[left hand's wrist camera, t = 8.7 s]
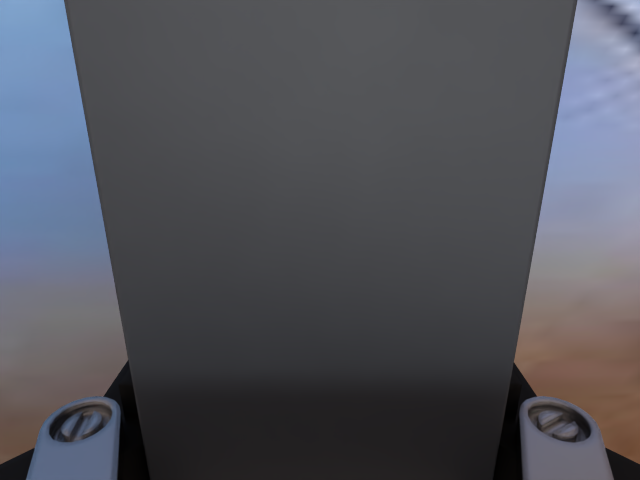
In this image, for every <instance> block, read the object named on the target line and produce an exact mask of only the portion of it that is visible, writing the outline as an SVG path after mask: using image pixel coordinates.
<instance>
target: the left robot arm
mask: <svg viewBox="0 0 640 480" xmlns="http://www.w3.org/2000/svg"><path fill="white" fill-rule="evenodd" d="M0 480H150V477H149V472H148V466H147V461H146V455H145V449H144V444H143V438H142V433H141V427H140V421H139V416H138V410H137V405H136V399H135V393H134V388H133V382H132V377H131V371H130V366H129V360H128V361H127V363H126V364H125V366H124V367H123V369H122V370H121V372H120V373H119V374H118V376H117V377H116V379H115V380H114V382H113V383H112V385H111V386H110V388H109V389H108V391H107V392H106V394H105V395H104V397H98V396H96V397H88V398H83V399H80V400H76V401H73V402H71V403H69V404H67V405H65V406H63V407H61V408H60V409H58V410H57V411H55V412H54V413H53V414H51V415H50V416H49V417H48V419H47V420H46V421H45V422H44V423H43V425H42V427H41V429H40V432H39V435H38V439H37V443H36V446H35V448H33V449H31V450H29V451H27V452H25V453H23V454H21V455H19V456H17V457H15V458H13V459H11V460H9V461H7V462H5V463H3V464H1V465H0ZM493 480H640V464H638V463H636V462H634V461H632V460H630V459H628V458H626V457H623V456H621V455H619V454H617V453H615V452H613V451H611V450H609V449H607V448H605V446H604V443H603V439H602V435H601V432H600V429H599V427H598V425H597V423H596V422H595V421H594V420H593V419H592V417H591V416H590V415H589V414H587V413H586V412H585V411H583V410H582V409H580V408H579V407H577V406H575V405H573V404H571V403H569V402H567V401H564V400H560V399H557V398H552V397H544V396H542V397H537V396H536V394H535V393H534V391H533V390H532V388H531V387H530V385H529V384H528V382H527V381H526V380H525V378H524V377H523V375H522V374H521V372H520V371H519V369H518V368H517V366H516V365H515V363H513V369H512V375H511V380H510V386H509V392H508V397H507V403H506V409H505V415H504V420H503V426H502V432H501V437H500V443H499V449H498V454H497V460H496V466H495V471H494V477H493Z"/></svg>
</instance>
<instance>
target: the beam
mask: <svg viewBox="0 0 640 480" xmlns="http://www.w3.org/2000/svg"><path fill="white" fill-rule="evenodd" d="M64 2H65V8H66V13H67V19H68V25H69V30H70V36H71V41H72V47H73V53H74V58H75V64H76V69H77V75H78V81H79V86H80V92H81V97H82V103H83V108H84V114H85V120H86V125H87V131H88V136H89V142H90V148H91V153H92V159H93V164H94V170H95V176H96V181H97V187H98V192H99V198H100V203H101V209H102V215H103V220H104V226H105V231H106V237H107V243H108V248H109V254H110V259H111V265H112V271H113V276H114V282H115V287H116V293H117V298H118V304H119V310H120V315H121V321H122V326H123V332H124V338H125V343H126V349H127V354H128V360H129V366H130V371H131V377H132V382H133V388H134V393H135V399H136V405H137V410H138V416H139V421H140V427H141V433H142V438H143V444H144V449H145V455H146V461H147V466H148V472H149V477H150V480H493V477H494V471H495V466H496V460H497V454H498V449H499V443H500V437H501V432H502V426H503V420H504V415H505V409H506V403H507V397H508V392H509V386H510V380H511V375H512V369H513V363H514V358H515V352H516V346H517V341H518V335H519V329H520V323H521V318H522V312H523V306H524V301H525V295H526V289H527V284H528V278H529V272H530V267H531V261H532V255H533V250H534V244H535V238H536V232H537V227H538V221H539V215H540V210H541V204H542V198H543V193H544V187H545V181H546V176H547V170H548V164H549V158H550V153H551V147H552V141H553V136H554V130H555V124H556V119H557V113H558V107H559V102H560V96H561V90H562V85H563V79H564V73H565V67H566V62H567V56H568V50H569V45H570V39H571V33H572V28H573V22H574V16H575V11H576V5H577V0H64Z"/></svg>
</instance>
